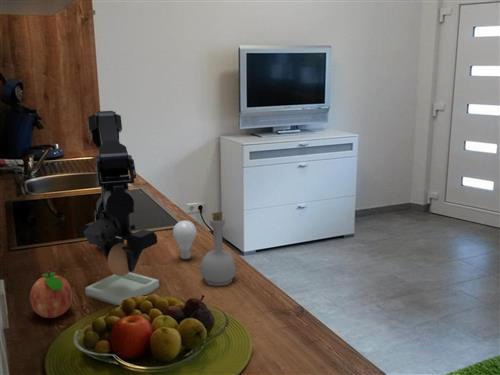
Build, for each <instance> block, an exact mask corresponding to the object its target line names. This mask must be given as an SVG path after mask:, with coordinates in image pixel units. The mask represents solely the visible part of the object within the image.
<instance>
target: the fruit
mask: <svg viewBox="0 0 500 375" xmlns="http://www.w3.org/2000/svg"><path fill="white" fill-rule="evenodd" d="M41 276H42V277H40V278H39V279H37V280H36V281H35V282H34V284H33V285H32V287H31V290H30V295H29V303H30V306H31V308H32V310H33V311H34V312H35V313H36V314H37V315H38V316H40V317H42V318H46V319H54V318H57V317H60V316H62V315H63V314H65V313H66V312H67V311H68V310H69V308H70V306H71V305H72V302H73V297H74V296H73V289H72V287H71V284H70V283H69V282H68V280H67V279H66V278H64V277H62V276H60V275H58V274H57V272H51V271H49V270H48V271H47V273H46V272H45V273H43V274H41Z"/></svg>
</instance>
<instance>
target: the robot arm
mask: <svg viewBox="0 0 500 375" xmlns="http://www.w3.org/2000/svg"><path fill="white" fill-rule="evenodd" d="M87 130H88V134H90V135H91V140H92V143H93V145H95V147H96V149H97V151H98V152H97V154H98V156H95V169H96V176H97V183H98V184H97V185H98V186H99V187H100V191H101V195H100V197H99V198H98V200H97V201H96V210H94V221H92V222H89V223H86V224H84V225H83V227H82V229H81V232H82V237H83V238H86V241H87V243H88V245H95V246H97V247H96V250H99V251H102V253H103V255H104V257H105V260H106V262H107V263H108V255H109V252H110V250H111V249H112V247H113V246H114V245H116V244H118V243H123V244H125V245H127V246H125V247H123V248H122V249H123V250H124V251H125V252H126V253H127V262H128V269H129V272H131V273H133V272H134V271H135V269H136V268H135V267H137V263H138V261H139V259H140V256H141V254H142V252H143V250H145V249H147V248H149V247H152V246H154V245H156V244H158V235H157V233H156V232H155V231H152V230H147V229H140V230H138V231H136V232H132V231H133V230H136V225H135V224H134V223H132V221H131V220H132V219H131V214H132V213H134V212H135V200H134V198H133V196H132V194H131V192H130V190H129V184H135V179H137V171H136V166H135V161H134V159H133V158H132V157H133V156H132V155H131V154H128V150H127V146H125V145H124V144H122V143H121V142H120V133H122V131H123V125H122V116H121V114H117V112H116V111H113V110H98V111H97V112H95V113H94V114H92V115H90V116H88V117H87ZM125 241H126V243H125Z"/></svg>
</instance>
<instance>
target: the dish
mask: <svg viewBox="0 0 500 375" xmlns="http://www.w3.org/2000/svg"><path fill="white" fill-rule="evenodd" d="M159 288H160V281H159V279H156V278H153V277H149V276H145V275H141V274H137V273H134V272H129V273H128V274H126V275H124V276H117V275H115V274H114V273H112V275H109V276H107V277H105V278H103V279H101V280H99V281H96V282H95V283H92V284H90V285H88V286H85V287H84V289H85V296H86V297H88V298H93V299H95V300H98V301H102V302H105V303H108V304H111V305H113V306H117V305H119V304H121V303H122V301H123V300H125V299H128V298H131V297H136V296H142V295H145V296H147V295H149V294H151V293H152V292H154V291H156V290H157V289H159Z"/></svg>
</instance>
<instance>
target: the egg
mask: <svg viewBox="0 0 500 375" xmlns="http://www.w3.org/2000/svg"><path fill="white" fill-rule="evenodd" d="M125 244H126V243H124V244H123V243H118V244H116V245H114V246H113V247H112V249H111V250H110V252H109V255H108V262H107V265H108V268H109V270H110V271H111V273H112V274H115V275H117V276H124V275H126V274H128V273H129V269H128V262H127V253H126V252H125V251H124V250H123V249H122V248H123V247H125V246H127V245H125Z"/></svg>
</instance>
